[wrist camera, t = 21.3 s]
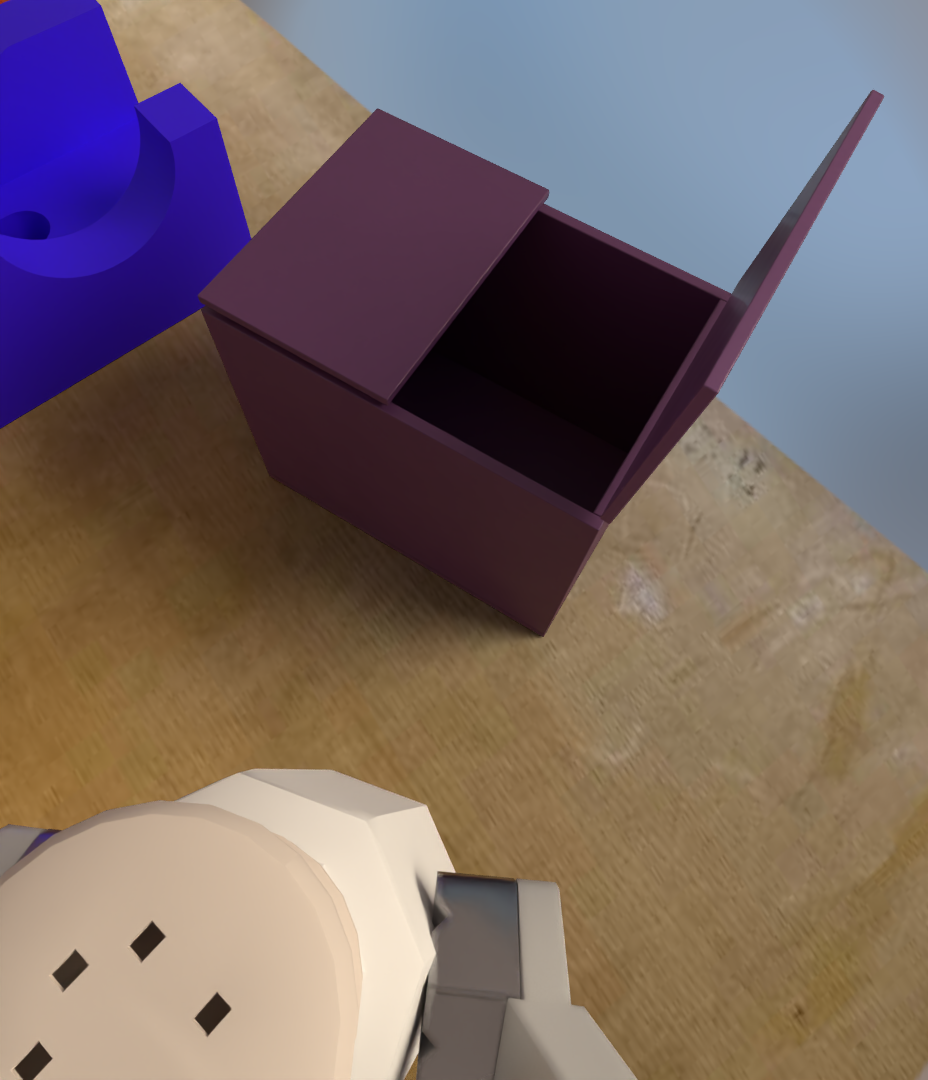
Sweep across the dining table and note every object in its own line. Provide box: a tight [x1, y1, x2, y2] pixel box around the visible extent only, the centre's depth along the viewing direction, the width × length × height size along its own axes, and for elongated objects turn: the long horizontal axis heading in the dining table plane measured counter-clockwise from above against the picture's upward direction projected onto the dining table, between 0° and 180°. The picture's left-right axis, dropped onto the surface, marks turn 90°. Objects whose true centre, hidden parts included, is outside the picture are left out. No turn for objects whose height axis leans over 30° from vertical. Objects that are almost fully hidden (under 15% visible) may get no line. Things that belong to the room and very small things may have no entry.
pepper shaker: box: [0, 769, 456, 1080], centre depth 10 cm, size 5×5×11 cm
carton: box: [198, 109, 731, 637], centre depth 35 cm, size 17×12×14 cm
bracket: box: [0, 0, 251, 428], centre depth 40 cm, size 21×14×10 cm, turn 131°
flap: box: [600, 90, 884, 524], centre depth 23 cm, size 8×12×1 cm
